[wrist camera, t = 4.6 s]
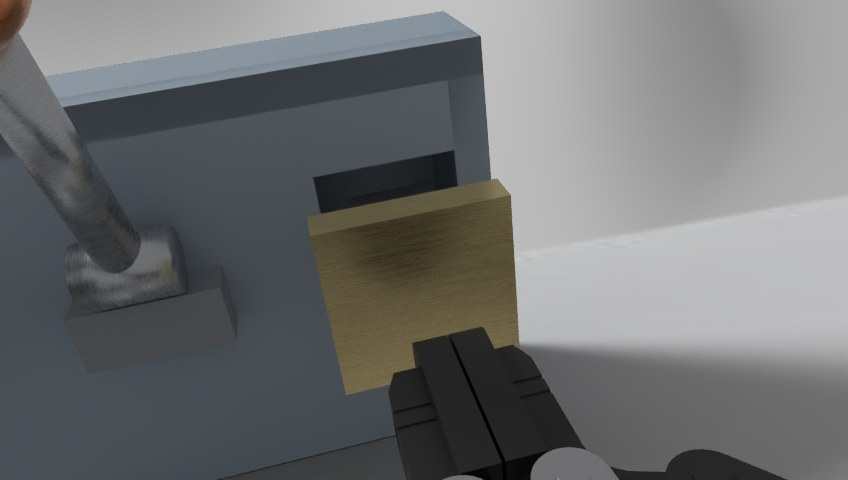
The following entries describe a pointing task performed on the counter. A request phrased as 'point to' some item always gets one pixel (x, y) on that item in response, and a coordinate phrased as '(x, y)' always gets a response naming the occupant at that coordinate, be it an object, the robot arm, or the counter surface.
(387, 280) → the tan square block
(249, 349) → the block
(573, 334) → the counter surface
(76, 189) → the lever
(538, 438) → the robot arm
